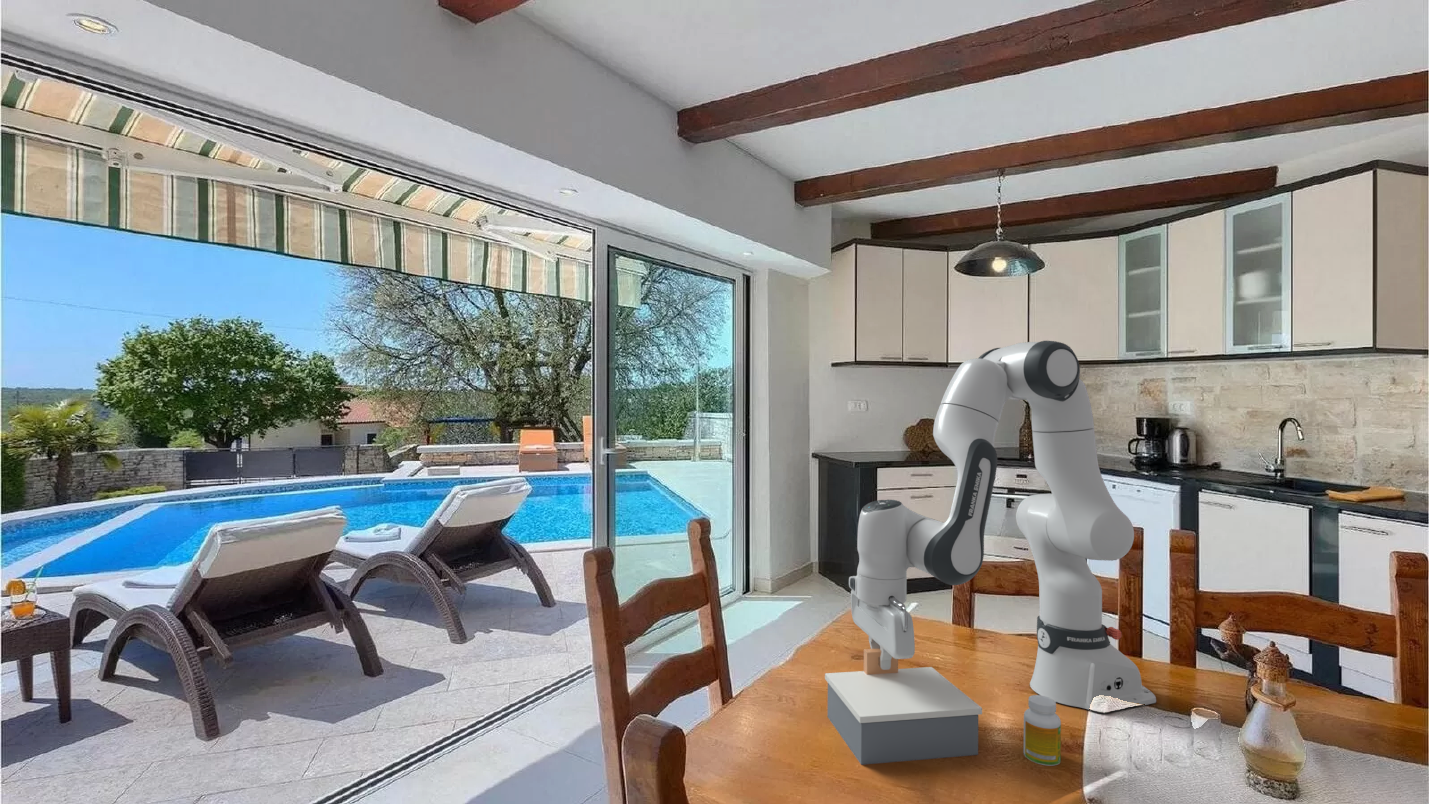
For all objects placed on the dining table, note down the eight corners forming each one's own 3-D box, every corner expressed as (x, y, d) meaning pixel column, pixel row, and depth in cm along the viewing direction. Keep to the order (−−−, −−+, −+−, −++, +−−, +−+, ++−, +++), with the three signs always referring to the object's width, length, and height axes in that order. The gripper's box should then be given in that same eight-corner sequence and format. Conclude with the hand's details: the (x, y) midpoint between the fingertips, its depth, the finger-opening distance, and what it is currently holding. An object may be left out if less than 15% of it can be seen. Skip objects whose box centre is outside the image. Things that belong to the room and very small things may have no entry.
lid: (931, 672, 123) (931, 645, 123) (982, 714, 106) (982, 683, 106) (824, 678, 120) (825, 651, 120) (860, 723, 103) (860, 691, 103)
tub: (930, 712, 122) (930, 675, 122) (978, 758, 107) (978, 715, 107) (827, 719, 119) (827, 681, 119) (861, 768, 103) (861, 723, 103)
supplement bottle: (1065, 771, 103) (1065, 709, 103) (1028, 767, 104) (1028, 706, 104) (1054, 753, 108) (1055, 694, 108) (1019, 749, 109) (1020, 691, 110)
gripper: (924, 605, 111) (924, 688, 111) (875, 574, 131) (875, 644, 131) (889, 607, 110) (888, 690, 110) (845, 575, 130) (844, 645, 130)
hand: (880, 664), depth 120 cm, fingers closed on lid, 2 cm apart
